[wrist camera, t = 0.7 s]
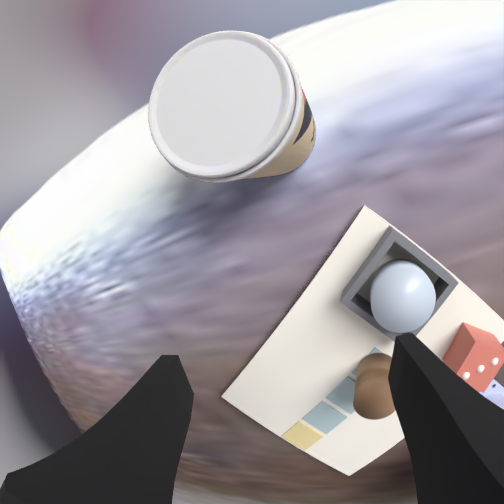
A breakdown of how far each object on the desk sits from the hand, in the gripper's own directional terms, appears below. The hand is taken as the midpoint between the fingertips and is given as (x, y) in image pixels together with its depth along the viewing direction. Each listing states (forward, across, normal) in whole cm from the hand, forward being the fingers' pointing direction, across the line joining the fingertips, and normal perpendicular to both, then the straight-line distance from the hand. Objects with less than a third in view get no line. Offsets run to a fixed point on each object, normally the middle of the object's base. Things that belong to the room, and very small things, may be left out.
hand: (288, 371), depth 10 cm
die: (+11, -16, +12) cm, 23 cm away
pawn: (+12, -8, +14) cm, 20 cm away
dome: (+12, -9, +6) cm, 16 cm away
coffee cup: (+21, 0, -6) cm, 22 cm away
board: (+14, -7, +16) cm, 22 cm away
